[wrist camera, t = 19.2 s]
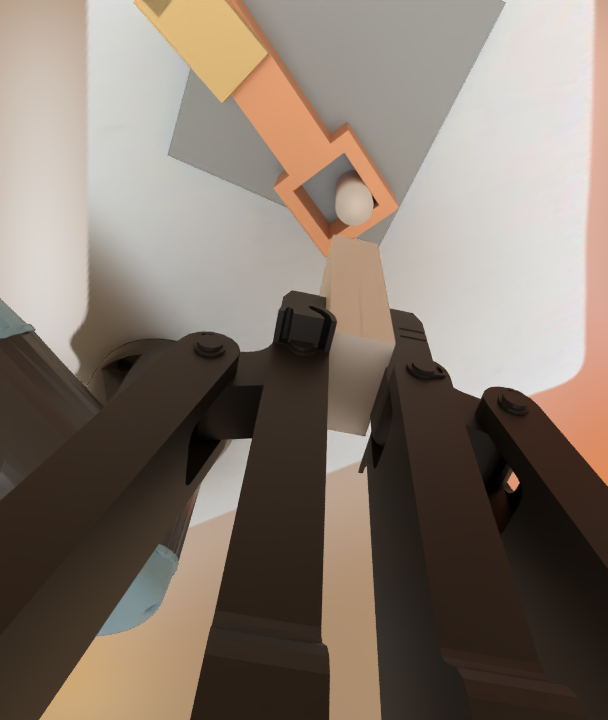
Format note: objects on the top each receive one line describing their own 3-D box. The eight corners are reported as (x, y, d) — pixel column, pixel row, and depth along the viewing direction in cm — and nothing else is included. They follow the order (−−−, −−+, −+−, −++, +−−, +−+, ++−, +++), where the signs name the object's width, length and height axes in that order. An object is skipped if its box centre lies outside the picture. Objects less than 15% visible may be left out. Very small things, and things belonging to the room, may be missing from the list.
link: (394, 194, 41) (398, 208, 37) (326, 240, 43) (325, 258, 40) (251, -28, 34) (241, -35, 31) (180, 41, 36) (163, 42, 33)
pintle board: (377, 242, 44) (383, 275, 38) (123, 131, 41) (85, 148, 34) (500, 3, 35) (534, -4, 29) (187, -167, 32) (150, -215, 25)
